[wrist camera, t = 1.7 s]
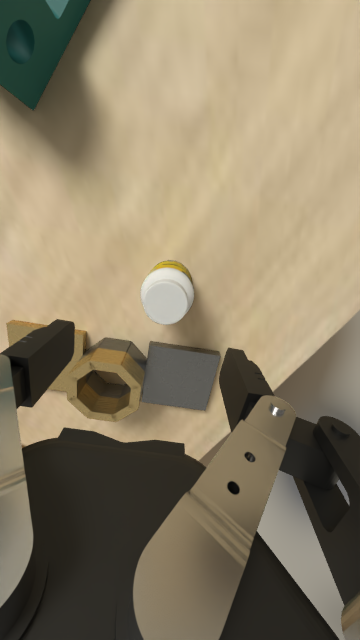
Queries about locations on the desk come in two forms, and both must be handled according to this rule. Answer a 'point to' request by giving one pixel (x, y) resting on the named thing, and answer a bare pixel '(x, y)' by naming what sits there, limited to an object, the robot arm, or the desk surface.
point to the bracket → (34, 43)
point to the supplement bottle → (167, 292)
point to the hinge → (130, 375)
